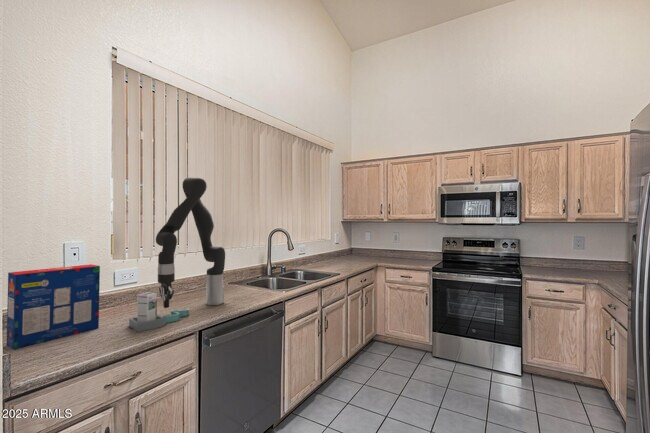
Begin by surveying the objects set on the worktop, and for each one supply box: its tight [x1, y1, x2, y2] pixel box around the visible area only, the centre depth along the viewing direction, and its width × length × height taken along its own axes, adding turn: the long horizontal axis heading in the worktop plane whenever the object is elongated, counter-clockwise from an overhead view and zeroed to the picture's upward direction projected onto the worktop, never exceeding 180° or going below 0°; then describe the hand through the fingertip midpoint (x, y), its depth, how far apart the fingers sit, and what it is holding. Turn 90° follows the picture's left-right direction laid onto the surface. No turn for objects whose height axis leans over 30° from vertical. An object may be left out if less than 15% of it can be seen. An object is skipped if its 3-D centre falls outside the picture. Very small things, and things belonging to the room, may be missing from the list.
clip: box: [158, 312, 181, 324], centre depth 155 cm, size 8×5×3 cm, turn 138°
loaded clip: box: [170, 307, 190, 318], centre depth 164 cm, size 8×5×3 cm, turn 113°
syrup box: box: [136, 291, 158, 323], centre depth 148 cm, size 6×6×14 cm
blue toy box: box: [6, 263, 101, 351], centre depth 133 cm, size 28×8×28 cm, turn 149°
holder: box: [128, 314, 165, 333], centre depth 147 cm, size 11×11×4 cm
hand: (166, 307), depth 159 cm, fingers closed
